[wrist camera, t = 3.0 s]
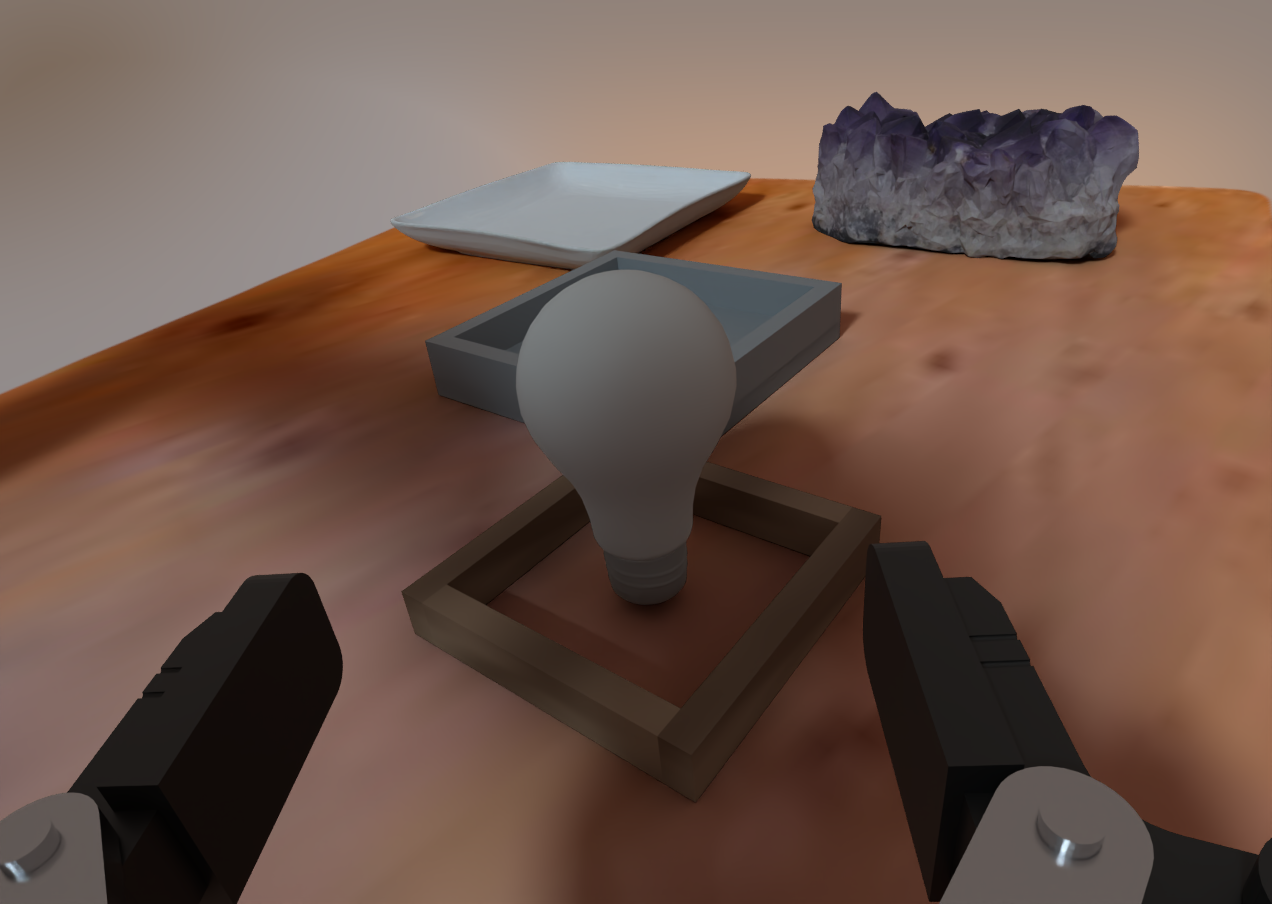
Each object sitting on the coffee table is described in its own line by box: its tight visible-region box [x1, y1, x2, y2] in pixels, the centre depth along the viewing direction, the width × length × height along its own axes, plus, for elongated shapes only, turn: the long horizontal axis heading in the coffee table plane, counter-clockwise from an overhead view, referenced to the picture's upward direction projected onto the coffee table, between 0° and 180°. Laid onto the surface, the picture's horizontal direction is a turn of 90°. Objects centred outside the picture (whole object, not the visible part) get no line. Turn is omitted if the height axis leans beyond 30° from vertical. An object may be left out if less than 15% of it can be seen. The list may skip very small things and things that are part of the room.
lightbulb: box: [516, 270, 737, 605], centre depth 24 cm, size 6×6×11 cm
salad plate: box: [391, 162, 751, 269], centre depth 64 cm, size 21×21×3 cm
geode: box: [812, 92, 1139, 260], centre depth 52 cm, size 20×12×10 cm, turn 59°
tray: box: [425, 250, 842, 436], centre depth 41 cm, size 15×15×3 cm
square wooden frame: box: [401, 462, 881, 802], centre depth 26 cm, size 11×11×2 cm
